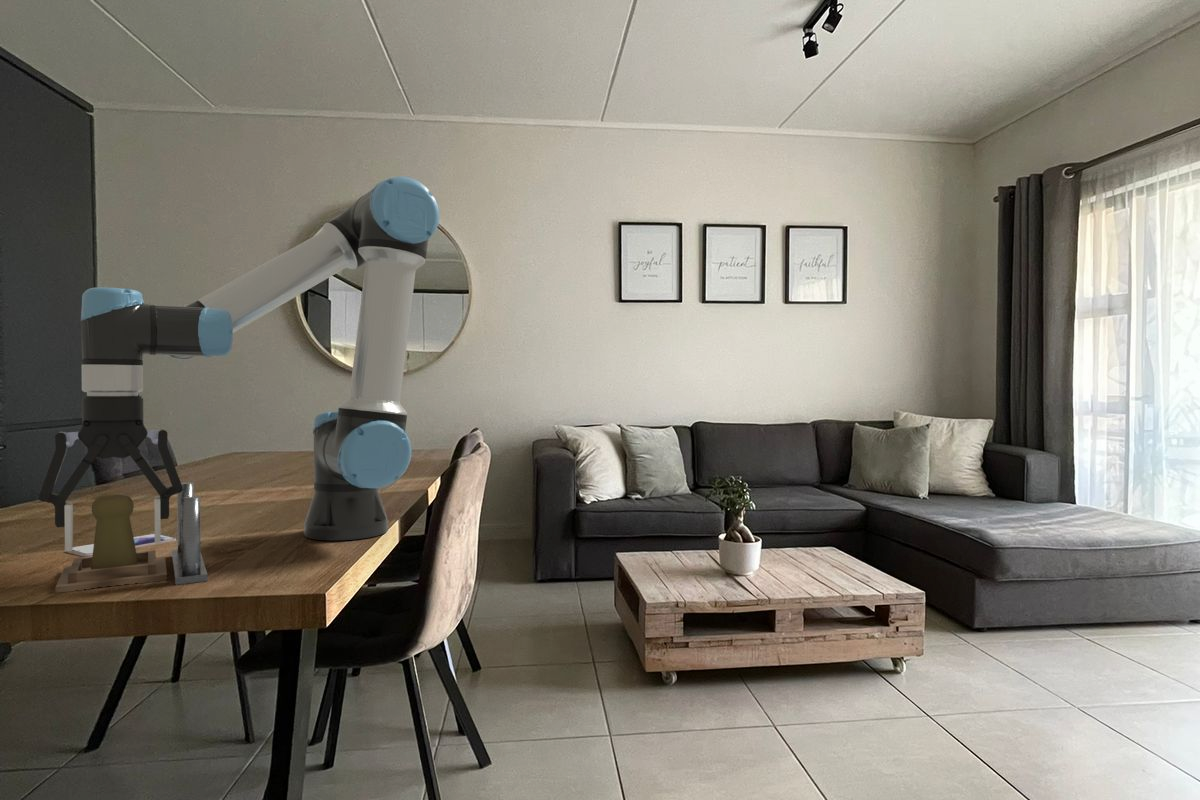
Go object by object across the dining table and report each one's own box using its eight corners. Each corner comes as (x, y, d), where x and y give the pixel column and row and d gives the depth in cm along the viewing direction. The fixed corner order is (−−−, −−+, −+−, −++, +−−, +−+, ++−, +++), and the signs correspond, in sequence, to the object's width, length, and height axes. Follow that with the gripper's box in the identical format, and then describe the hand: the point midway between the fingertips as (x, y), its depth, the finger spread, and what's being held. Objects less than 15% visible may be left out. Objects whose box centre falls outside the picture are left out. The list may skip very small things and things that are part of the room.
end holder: (165, 561, 118) (164, 547, 118) (166, 580, 106) (166, 565, 106) (64, 571, 111) (64, 557, 111) (55, 593, 100) (55, 576, 100)
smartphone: (178, 538, 133) (85, 554, 120) (177, 543, 133) (85, 560, 120) (156, 532, 137) (64, 548, 124) (156, 537, 137) (64, 553, 124)
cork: (124, 563, 113) (121, 491, 113) (147, 567, 110) (145, 493, 110) (81, 572, 107) (78, 497, 107) (104, 576, 105) (102, 499, 104)
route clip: (199, 553, 123) (198, 481, 123) (207, 581, 106) (207, 498, 106) (171, 556, 121) (171, 483, 121) (175, 584, 104) (174, 500, 104)
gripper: (199, 393, 117) (200, 532, 118) (18, 394, 105) (20, 548, 106) (202, 394, 111) (203, 541, 111) (10, 395, 99) (12, 559, 99)
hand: (114, 545), depth 109 cm, fingers open, 10 cm apart
